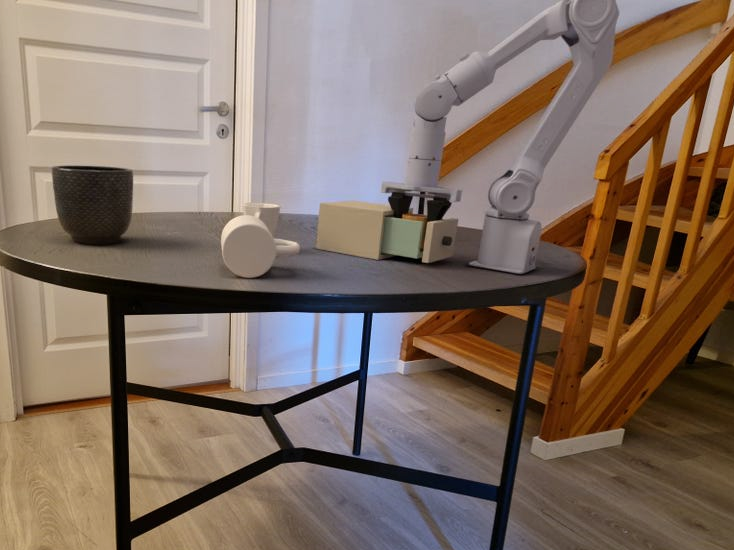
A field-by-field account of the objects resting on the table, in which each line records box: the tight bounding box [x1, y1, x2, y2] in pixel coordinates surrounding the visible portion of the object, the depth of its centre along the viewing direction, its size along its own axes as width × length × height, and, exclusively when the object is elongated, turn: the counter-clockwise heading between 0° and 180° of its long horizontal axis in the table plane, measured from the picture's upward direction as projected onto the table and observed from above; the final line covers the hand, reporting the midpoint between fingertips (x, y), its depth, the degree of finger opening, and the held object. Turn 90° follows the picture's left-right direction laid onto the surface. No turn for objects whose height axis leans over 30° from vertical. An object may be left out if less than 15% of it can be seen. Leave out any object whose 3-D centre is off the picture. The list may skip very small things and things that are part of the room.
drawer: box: [381, 215, 459, 264], centre depth 111 cm, size 14×10×7 cm
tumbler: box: [402, 213, 427, 249], centre depth 111 cm, size 5×5×6 cm
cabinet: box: [316, 199, 414, 261], centre depth 117 cm, size 14×12×9 cm
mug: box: [220, 214, 301, 279], centre depth 94 cm, size 12×10×8 cm
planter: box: [51, 165, 134, 246], centre depth 111 cm, size 14×14×13 cm
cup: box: [241, 202, 281, 238], centre depth 112 cm, size 7×10×8 cm
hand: (413, 238), depth 111 cm, fingers closed on tumbler, 5 cm apart
